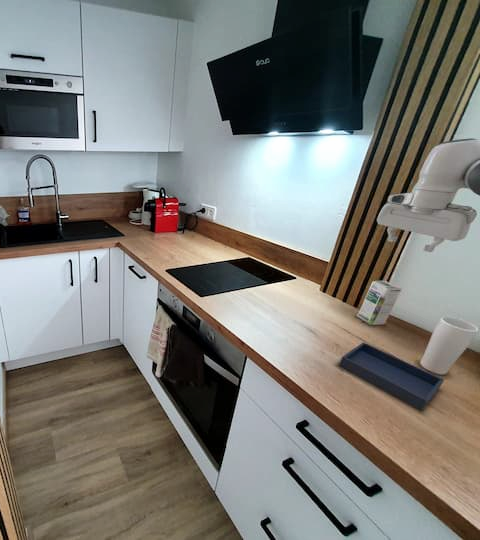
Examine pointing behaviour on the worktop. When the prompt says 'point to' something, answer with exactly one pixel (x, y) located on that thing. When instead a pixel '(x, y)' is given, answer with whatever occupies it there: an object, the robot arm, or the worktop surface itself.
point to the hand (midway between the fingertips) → (408, 246)
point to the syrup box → (379, 302)
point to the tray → (392, 374)
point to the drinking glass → (447, 344)
